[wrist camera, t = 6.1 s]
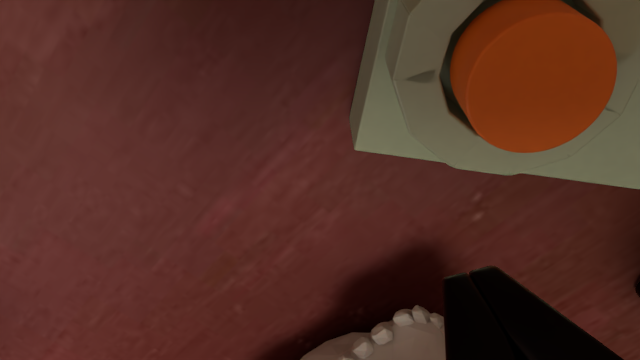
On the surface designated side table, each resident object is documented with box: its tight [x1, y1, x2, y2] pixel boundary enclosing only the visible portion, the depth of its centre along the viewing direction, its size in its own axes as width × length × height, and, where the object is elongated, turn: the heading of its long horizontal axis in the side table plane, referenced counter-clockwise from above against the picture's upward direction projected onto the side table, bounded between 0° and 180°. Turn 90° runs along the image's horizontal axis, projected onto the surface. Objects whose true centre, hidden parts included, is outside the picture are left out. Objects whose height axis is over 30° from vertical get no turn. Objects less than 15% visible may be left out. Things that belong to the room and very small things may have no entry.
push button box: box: [349, 0, 640, 189], centre depth 16 cm, size 10×8×4 cm
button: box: [450, 0, 617, 153], centre depth 14 cm, size 4×4×2 cm
